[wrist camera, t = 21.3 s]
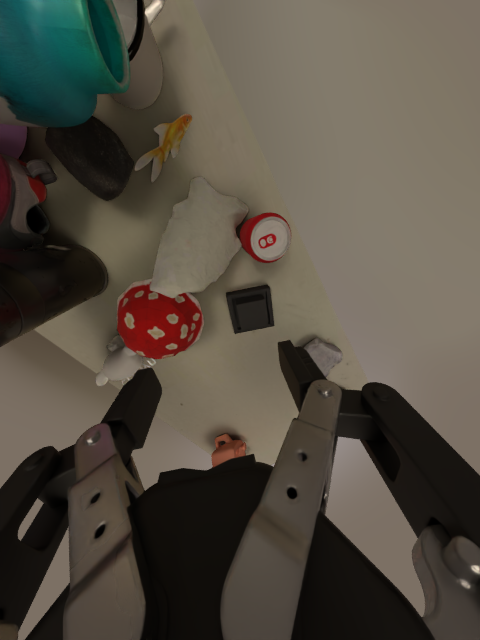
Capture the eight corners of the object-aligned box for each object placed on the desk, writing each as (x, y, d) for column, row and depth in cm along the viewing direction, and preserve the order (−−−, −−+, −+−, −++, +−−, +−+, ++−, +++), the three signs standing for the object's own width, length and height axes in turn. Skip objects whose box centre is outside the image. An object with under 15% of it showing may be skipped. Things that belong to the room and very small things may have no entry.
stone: (103, 182, 31) (101, 219, 27) (40, 133, 25) (24, 171, 21) (134, 143, 28) (137, 178, 24) (71, 76, 22) (60, 107, 18)
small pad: (240, 323, 41) (241, 330, 38) (235, 299, 39) (236, 304, 36) (265, 318, 41) (268, 325, 38) (262, 294, 39) (265, 299, 36)
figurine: (106, 351, 45) (136, 382, 45) (70, 366, 37) (107, 405, 37) (138, 318, 42) (169, 352, 42) (106, 327, 34) (145, 369, 34)
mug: (135, 133, 28) (99, 94, 19) (73, 52, 24) (-4, -38, 16) (197, 62, 25) (185, -18, 17) (138, -41, 21) (86, -205, 13)
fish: (152, 185, 30) (127, 163, 26) (151, 185, 30) (127, 163, 26) (198, 129, 28) (180, 93, 23) (198, 128, 28) (180, 93, 23)
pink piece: (253, 494, 51) (220, 500, 53) (251, 447, 62) (224, 453, 64) (236, 473, 46) (201, 480, 48) (237, 426, 57) (208, 433, 59)
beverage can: (276, 246, 36) (300, 254, 25) (246, 259, 37) (256, 272, 26) (266, 210, 33) (288, 202, 23) (233, 225, 34) (239, 224, 23)
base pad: (234, 328, 43) (234, 334, 41) (226, 292, 39) (226, 296, 37) (271, 321, 43) (274, 326, 41) (267, 284, 39) (270, 287, 37)
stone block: (279, 364, 51) (311, 381, 52) (282, 374, 46) (316, 393, 47) (306, 328, 47) (340, 347, 48) (312, 335, 42) (349, 357, 43)
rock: (189, 183, 32) (135, 287, 28) (189, 159, 28) (126, 275, 23) (251, 218, 35) (212, 318, 30) (260, 200, 31) (217, 312, 26)
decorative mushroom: (208, 332, 43) (201, 380, 29) (142, 331, 41) (103, 382, 28) (207, 268, 37) (199, 292, 23) (130, 265, 35) (74, 288, 22)
